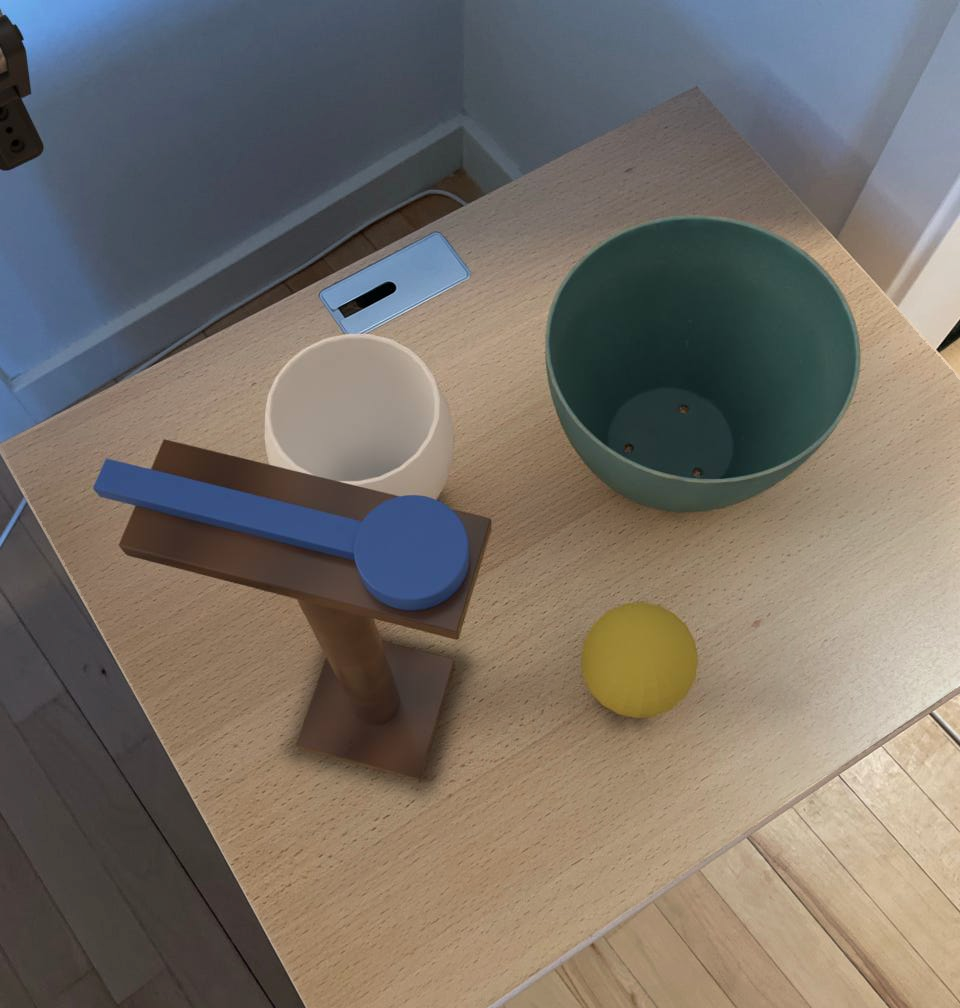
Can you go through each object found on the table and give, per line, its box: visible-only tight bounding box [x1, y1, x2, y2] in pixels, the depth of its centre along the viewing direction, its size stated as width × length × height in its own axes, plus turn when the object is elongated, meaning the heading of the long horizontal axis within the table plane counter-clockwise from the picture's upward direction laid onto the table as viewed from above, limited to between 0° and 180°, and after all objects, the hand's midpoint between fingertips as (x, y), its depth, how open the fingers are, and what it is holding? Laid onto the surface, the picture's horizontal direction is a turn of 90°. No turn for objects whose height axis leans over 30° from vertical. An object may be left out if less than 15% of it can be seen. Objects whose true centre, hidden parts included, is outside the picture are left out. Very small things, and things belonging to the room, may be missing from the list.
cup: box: [264, 333, 455, 500], centre depth 62 cm, size 11×11×15 cm
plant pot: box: [544, 214, 862, 514], centre depth 65 cm, size 18×18×12 cm
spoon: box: [92, 458, 470, 610], centre depth 40 cm, size 15×4×1 cm, turn 75°
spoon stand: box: [118, 438, 492, 782], centre depth 53 cm, size 14×8×26 cm, turn 75°
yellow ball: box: [580, 601, 699, 719], centre depth 60 cm, size 7×7×10 cm
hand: (17, 153), depth 44 cm, fingers closed
